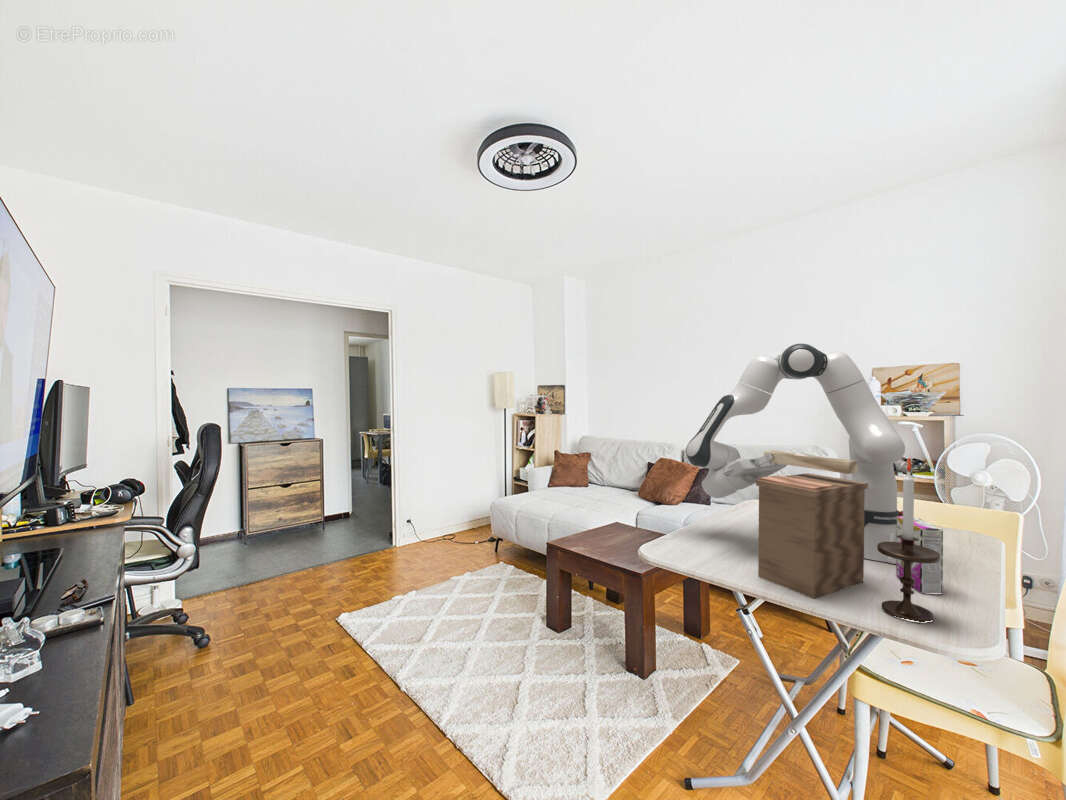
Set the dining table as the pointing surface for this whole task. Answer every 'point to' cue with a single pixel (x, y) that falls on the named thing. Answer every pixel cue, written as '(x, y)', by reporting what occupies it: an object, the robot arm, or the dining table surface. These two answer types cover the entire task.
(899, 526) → the candy bar box
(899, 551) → the candlestick
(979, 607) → the dining table surface
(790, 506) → the walnut shelf
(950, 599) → the dining table surface
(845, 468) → the birch block
